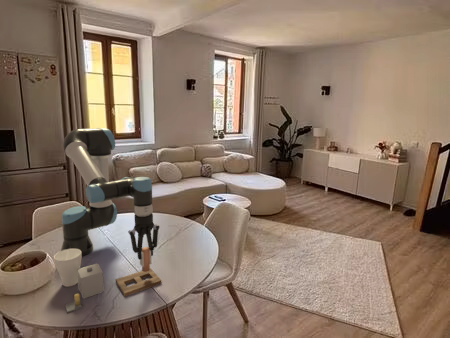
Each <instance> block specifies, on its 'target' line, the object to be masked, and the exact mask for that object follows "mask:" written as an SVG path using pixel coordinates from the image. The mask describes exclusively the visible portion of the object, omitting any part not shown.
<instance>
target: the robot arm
mask: <svg viewBox="0 0 450 338" xmlns="http://www.w3.org/2000/svg"><path fill="white" fill-rule="evenodd" d="M62 143H63V144H62V148H63V151H64V153H65V155H66V156H67V158H69V159H71V161H72V162H73V164H74V165H75V167H76V169H77V171H78V172H79V173H80V176H81V178H82V179H83V180H84V183H85V184H86V185H87V186H86V187H85V196H86V199H87V201H88V202H89V204H88V206H89V207H86V206H84V205H79V206H78V205H77V206H73V207H69V208H67V209H66V210H64V211H63V212H62V213H61V221H60V222H61V227H62V235H63V237H62V238H63V241H62V244H61V249H60V251H63V250H66V249H79V250H81V252H82V257H84V256H87V255H88V254H90V253H92V252H93V251H94V245H93V241H92V240H91V238H90V235H89V231H90V230H94V229H98V228H102V227H107V226H109V225H112V224H114V223H115V222H116V220H117V218H118V210H117V206H116V203H114V202H113V201H112V200H115V199H121V198H125V197H131V198H133V213H134V227H133V229H130V230H128V234H129V237H130V240H131V248H132V251H133V252H134V253H135V254H137V259H138V260H139V264H140V266H141V267H144V253H143V252H142V248H143V243H144V236H145V235H146V241H147V247H148V248H149V263H150V265H152V264H153V263H152V257H153V256H154V249H155V248H157V247H158V238H159V237H158V236H159V229H160V225H158V224H157V223H154V214H153V211H154V209H153V185H152V179H151V178H150V177H148V176H137V177H134V178H133V177H130V176H125V177H122V178H121V179H119V180H113V181H110V179H109V176H110V175H109V173H110V172H109V157H110V156H111V155H112V151H113V150H115V148H116V139H115V136H114V134H113V132H112V131H111V129H109V128H105V127H93V128H89V127H88V128H77V129H73V130H71V131H70V132H68V133H67V134H66V136H65V137H64V139H63V142H62ZM152 229H153V230H152ZM136 233H137V240H136V236H135V235H136Z"/></svg>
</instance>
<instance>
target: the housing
mask: <svg viewBox="0 0 450 338" xmlns="http://www.w3.org/2000/svg"><path fill="white" fill-rule="evenodd" d="M77 273H78V283H77V284H78V290H79V294H80V295H81V297H82V299H86V298H90V297H92V296H96V295H99V294H101V293H104V292H105V290H104V276H103V275H104V273H103V270H102V268H101V266H100V265H99V264H98V263H94V264H90V265H87V266H84V267H80V268H79V269H77Z"/></svg>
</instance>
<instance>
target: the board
mask: <svg viewBox="0 0 450 338" xmlns="http://www.w3.org/2000/svg"><path fill="white" fill-rule="evenodd" d="M147 277H148V279H146V280H143V279H144V278H147ZM133 282H134V284H132V285H131V283H133ZM115 283H116V285H117V287H118V288H119V289H120V292H122V295H123V296H124V297H128V296H130V295H133V294H136V293H139V292H141V291H144V290H147V289H149V288H153V287H155V286H158V285H161V284H162V279H161V278H160V277H159V276H158V275H157V273H156V272H154V271H153V269H152V268H151V267H150V270H149V271H147V272H144V271H142V270H140V271H138V272H135V273H131V274H127V275H125V276H121V277H119V278H116V279H115ZM126 284H130V285H129V286H127V285H126Z"/></svg>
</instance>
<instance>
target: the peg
mask: <svg viewBox="0 0 450 338" xmlns="http://www.w3.org/2000/svg"><path fill="white" fill-rule="evenodd" d="M142 252H143V253H144V267H142V266H141V267H142V268H141V271H144V272H147V271H149V270H150V268H151V267H150V265H151V264H150V263H149V247H148V246H144V247H142Z"/></svg>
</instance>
